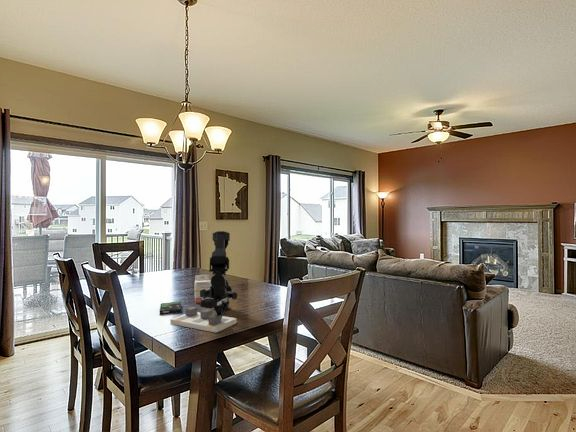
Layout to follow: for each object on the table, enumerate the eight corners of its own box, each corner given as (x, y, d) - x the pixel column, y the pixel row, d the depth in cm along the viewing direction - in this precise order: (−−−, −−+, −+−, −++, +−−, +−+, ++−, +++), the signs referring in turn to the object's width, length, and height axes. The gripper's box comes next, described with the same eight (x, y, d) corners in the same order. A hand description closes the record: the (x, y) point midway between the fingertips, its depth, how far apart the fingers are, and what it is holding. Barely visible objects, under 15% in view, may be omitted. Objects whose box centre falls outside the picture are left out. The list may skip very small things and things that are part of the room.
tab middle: (206, 315, 158) (206, 308, 158) (212, 316, 156) (212, 309, 156) (200, 317, 154) (200, 311, 154) (206, 318, 153) (206, 312, 153)
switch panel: (192, 315, 166) (192, 310, 166) (236, 322, 154) (236, 318, 154) (170, 323, 153) (170, 319, 153) (216, 332, 141) (216, 327, 141)
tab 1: (191, 313, 162) (191, 306, 162) (197, 313, 160) (197, 307, 160) (185, 315, 159) (185, 308, 158) (191, 316, 157) (191, 309, 157)
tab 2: (214, 321, 149) (214, 314, 149) (221, 322, 148) (221, 315, 148) (208, 324, 146) (208, 316, 146) (215, 325, 144) (214, 318, 144)
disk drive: (181, 314, 170) (181, 306, 184) (181, 308, 170) (181, 300, 184) (159, 316, 167) (160, 307, 181) (159, 310, 167) (160, 302, 181)
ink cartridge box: (195, 303, 187) (195, 276, 187) (194, 301, 192) (194, 275, 192) (211, 302, 190) (211, 275, 190) (210, 299, 195) (209, 274, 195)
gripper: (218, 278, 161) (218, 311, 162) (190, 286, 145) (190, 322, 145) (237, 279, 156) (238, 314, 156) (210, 288, 140) (211, 326, 140)
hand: (220, 318), depth 150 cm, fingers closed
